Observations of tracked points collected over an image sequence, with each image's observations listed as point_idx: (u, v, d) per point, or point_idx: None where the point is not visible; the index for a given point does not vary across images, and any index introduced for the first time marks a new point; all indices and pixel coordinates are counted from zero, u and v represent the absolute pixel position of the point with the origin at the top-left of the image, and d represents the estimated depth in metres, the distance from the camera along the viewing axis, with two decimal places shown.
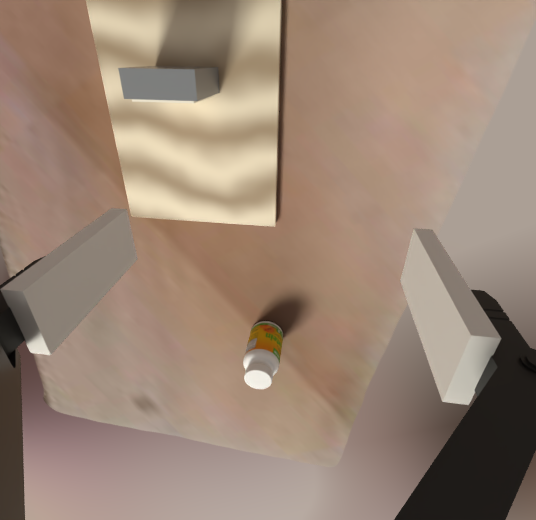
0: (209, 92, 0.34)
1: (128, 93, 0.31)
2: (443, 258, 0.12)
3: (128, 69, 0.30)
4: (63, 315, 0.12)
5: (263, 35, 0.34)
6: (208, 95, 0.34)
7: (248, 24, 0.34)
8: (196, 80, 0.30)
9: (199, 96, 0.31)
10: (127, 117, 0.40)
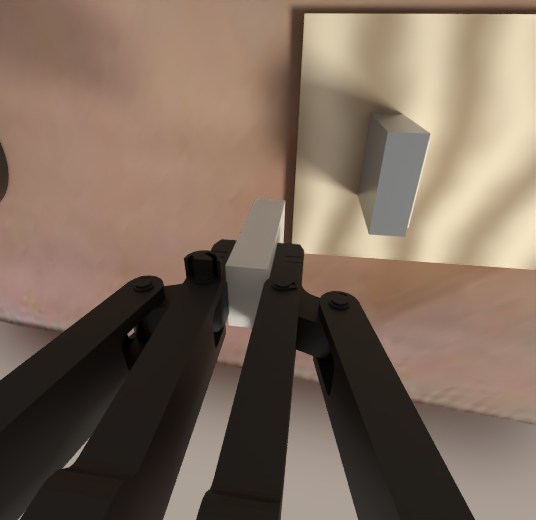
0: (409, 121, 0.24)
1: (399, 229, 0.24)
2: (274, 219, 0.15)
3: (372, 222, 0.24)
4: None
5: (342, 41, 0.25)
6: (413, 122, 0.24)
7: (328, 64, 0.26)
8: (401, 131, 0.21)
9: (421, 130, 0.21)
10: (407, 241, 0.33)
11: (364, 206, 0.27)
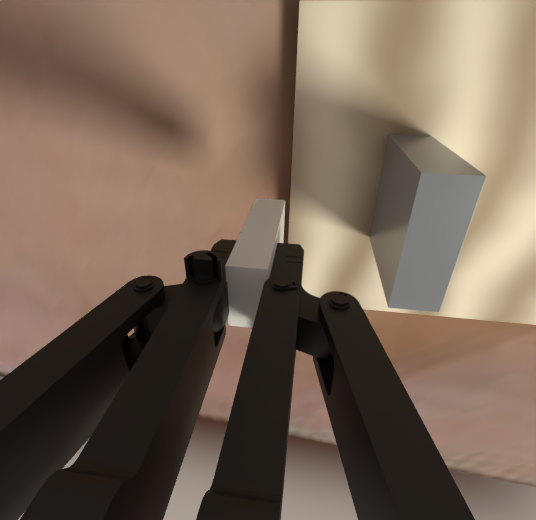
0: (446, 151, 0.17)
1: (431, 302, 0.17)
2: (274, 219, 0.15)
3: (393, 292, 0.17)
4: None
5: (351, 38, 0.18)
6: (452, 153, 0.17)
7: (332, 70, 0.19)
8: (440, 171, 0.14)
9: (471, 170, 0.14)
10: None
11: (380, 260, 0.20)
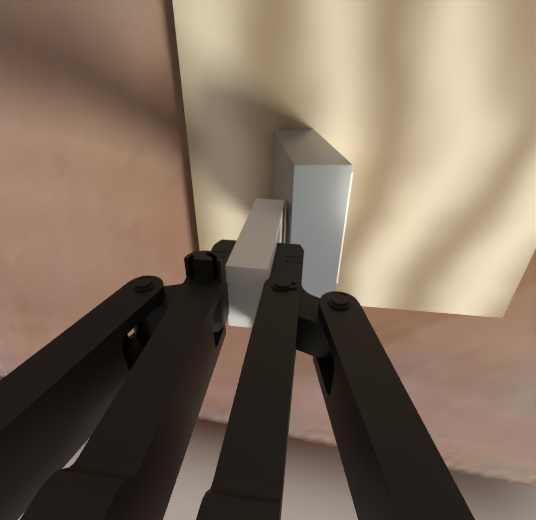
0: (322, 143, 0.18)
1: (326, 288, 0.18)
2: (274, 219, 0.15)
3: None
4: None
5: (226, 35, 0.19)
6: (328, 145, 0.18)
7: (212, 66, 0.20)
8: (313, 162, 0.15)
9: (340, 160, 0.15)
10: (338, 281, 0.27)
11: None
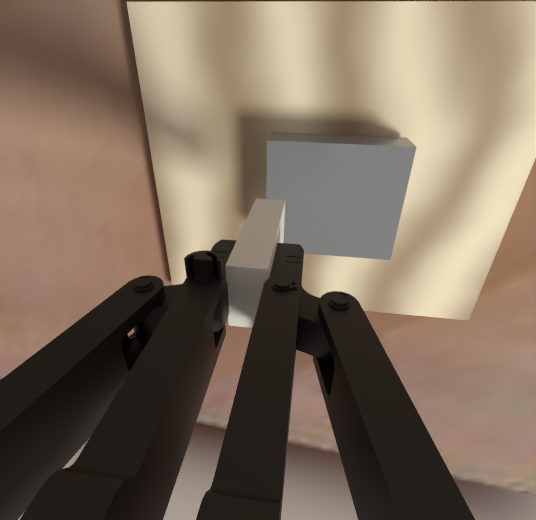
0: (339, 135, 0.20)
1: None
2: (274, 219, 0.15)
3: (392, 246, 0.21)
4: None
5: (180, 37, 0.19)
6: (344, 135, 0.20)
7: (169, 68, 0.20)
8: (406, 143, 0.19)
9: (394, 137, 0.20)
10: (305, 283, 0.27)
11: (334, 246, 0.22)
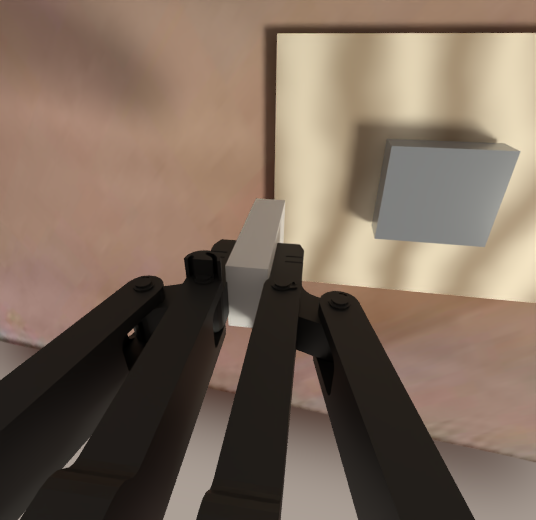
0: (446, 141, 0.24)
1: None
2: (274, 219, 0.15)
3: (488, 235, 0.25)
4: None
5: (318, 61, 0.24)
6: (450, 141, 0.24)
7: (304, 86, 0.25)
8: (508, 147, 0.23)
9: (494, 143, 0.24)
10: (394, 269, 0.31)
11: (436, 235, 0.26)
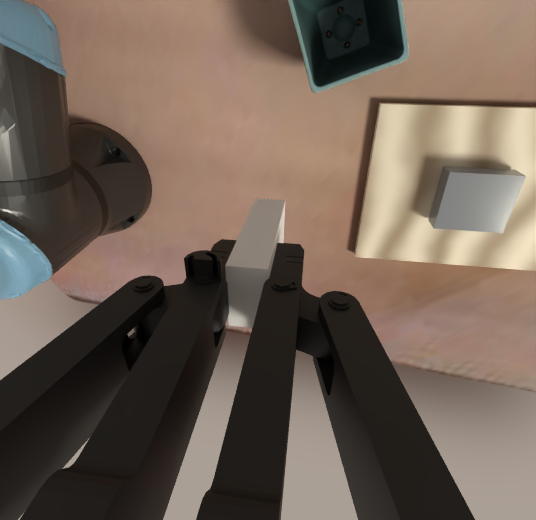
0: (480, 168, 0.40)
1: None
2: (274, 219, 0.15)
3: (505, 225, 0.41)
4: None
5: (404, 120, 0.39)
6: (482, 168, 0.40)
7: (393, 134, 0.40)
8: (518, 173, 0.38)
9: (509, 170, 0.39)
10: (440, 249, 0.46)
11: (473, 225, 0.41)
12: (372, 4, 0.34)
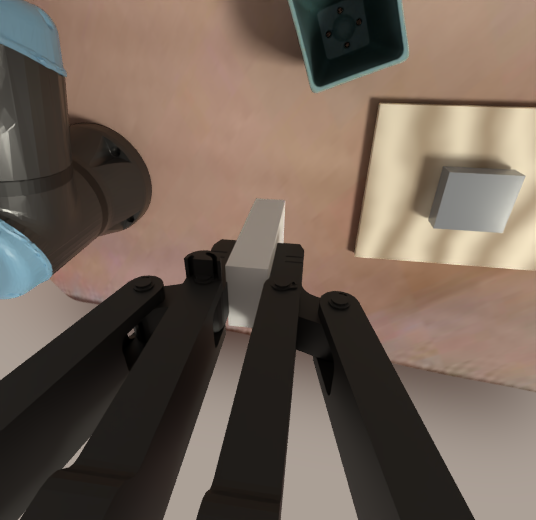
0: (480, 168, 0.40)
1: None
2: (274, 219, 0.15)
3: (504, 225, 0.41)
4: None
5: (404, 120, 0.39)
6: (482, 168, 0.40)
7: (393, 134, 0.40)
8: (518, 173, 0.38)
9: (509, 170, 0.40)
10: (440, 249, 0.46)
11: (473, 225, 0.41)
12: (372, 4, 0.34)
